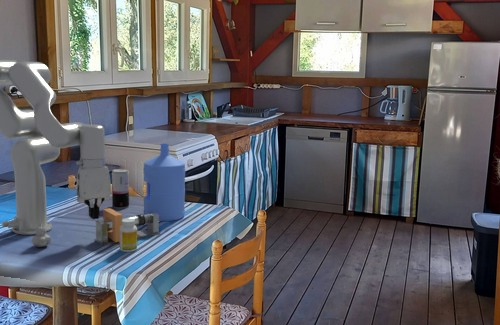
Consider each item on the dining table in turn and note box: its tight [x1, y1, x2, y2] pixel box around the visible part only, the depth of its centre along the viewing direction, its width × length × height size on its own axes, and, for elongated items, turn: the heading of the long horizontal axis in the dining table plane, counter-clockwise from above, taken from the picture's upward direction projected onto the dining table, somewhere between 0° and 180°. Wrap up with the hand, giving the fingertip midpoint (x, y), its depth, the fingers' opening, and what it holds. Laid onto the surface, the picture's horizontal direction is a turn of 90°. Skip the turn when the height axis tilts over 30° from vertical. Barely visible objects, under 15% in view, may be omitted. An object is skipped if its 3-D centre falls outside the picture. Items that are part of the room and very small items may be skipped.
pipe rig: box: [94, 212, 161, 246], centre depth 176 cm, size 21×6×7 cm, turn 129°
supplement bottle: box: [119, 217, 138, 253], centre depth 164 cm, size 5×5×10 cm
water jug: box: [143, 143, 186, 222], centre depth 199 cm, size 16×16×28 cm
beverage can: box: [111, 168, 130, 210], centre depth 212 cm, size 7×6×15 cm
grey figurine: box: [31, 222, 52, 248], centre depth 164 cm, size 5×7×8 cm
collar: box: [102, 207, 123, 243], centre depth 172 cm, size 2×9×9 cm, turn 39°
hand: (94, 218), depth 172 cm, fingers closed
